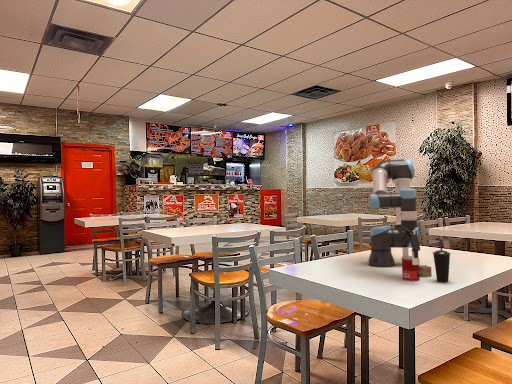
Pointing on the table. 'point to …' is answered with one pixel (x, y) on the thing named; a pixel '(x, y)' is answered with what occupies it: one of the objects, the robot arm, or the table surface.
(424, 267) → the walnut block
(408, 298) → the table surface
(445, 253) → the drinking cup
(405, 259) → the canned food
